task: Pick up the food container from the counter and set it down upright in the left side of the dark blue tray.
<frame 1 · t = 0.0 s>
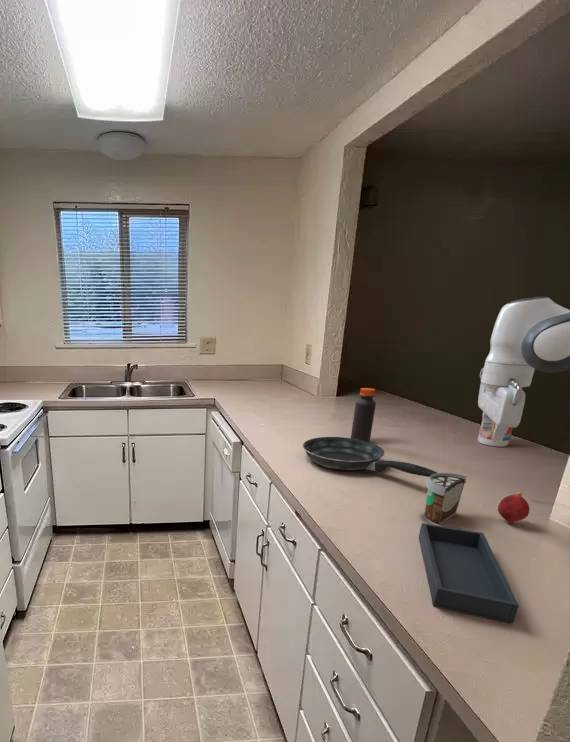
hand: (490, 436, 100), 21 cm above the countertop, tool pointing down, fingers open, 8 cm apart
frying pan: (358, 468, 139), on the countertop
dark blue tray: (458, 574, 85), on the countertop
food container: (434, 514, 109), on the countertop
fruit juice: (492, 443, 161), on the countertop
bottle: (359, 441, 165), on the countertop
onion: (509, 523, 105), on the countertop
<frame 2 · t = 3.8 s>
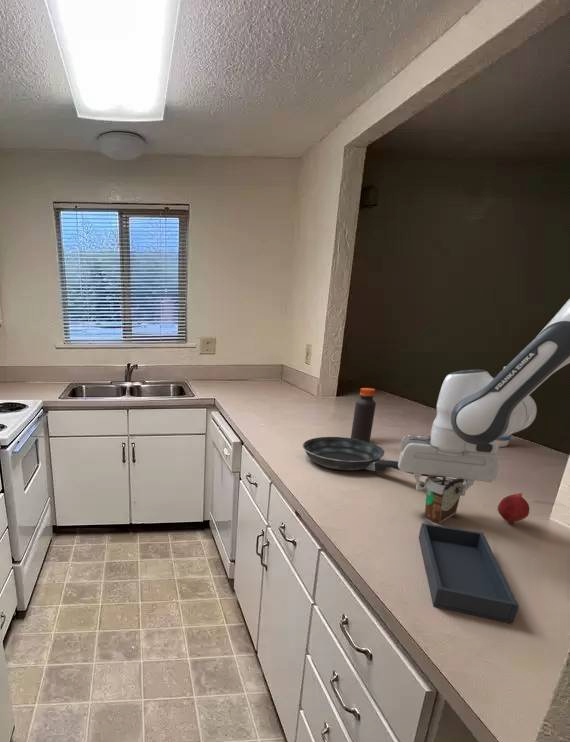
hand: (439, 492, 107), 6 cm above the countertop, tool pointing down, fingers closed on food container, 7 cm apart
food container: (434, 514, 109), on the countertop, touching gripper
everything else where it was.
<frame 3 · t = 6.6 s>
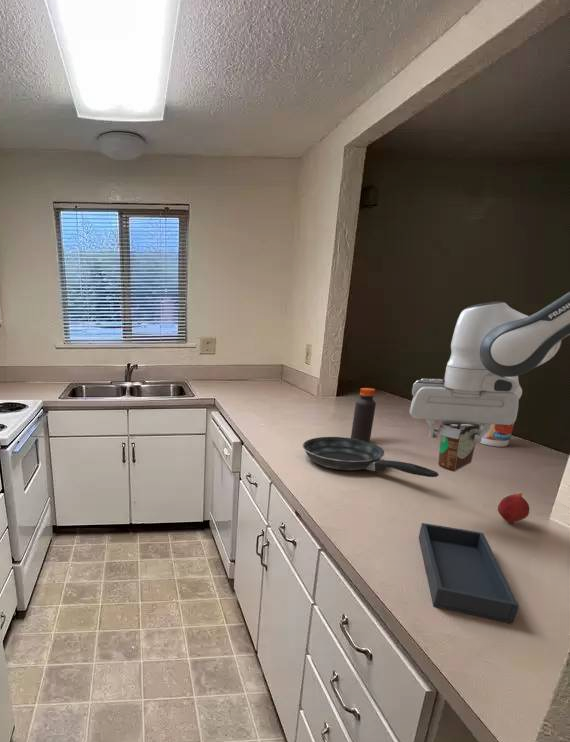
hand: (454, 439, 101), 20 cm above the countertop, tool pointing down, fingers closed on food container, 7 cm apart
food container: (448, 464, 103), point 14 cm above the countertop, touching gripper
everything else where it was.
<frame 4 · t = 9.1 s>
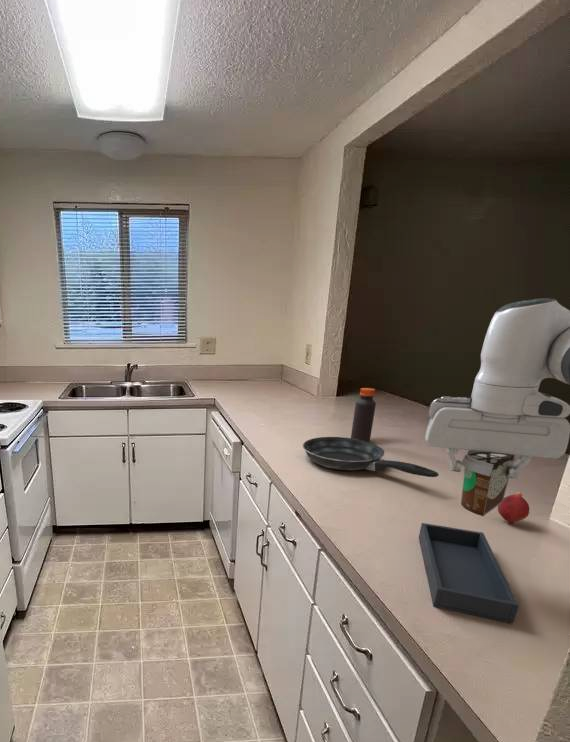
hand: (482, 473, 79), 21 cm above the countertop, tool pointing down, fingers closed on food container, 7 cm apart
food container: (473, 504, 82), point 15 cm above the countertop, touching gripper
everything else where it was.
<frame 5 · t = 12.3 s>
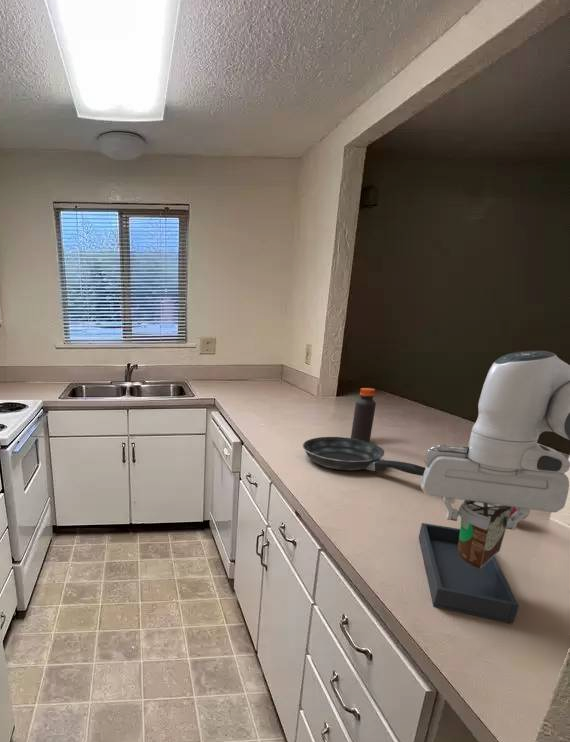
hand: (479, 523, 77), 13 cm above the countertop, tool pointing down, fingers closed on food container, 7 cm apart
food container: (470, 553, 80), point 7 cm above the countertop, touching gripper
everything else where it was.
when the fingers open (7 cm above the countertop, at t = 14.7 s): food container stays where it is, resting on dark blue tray.
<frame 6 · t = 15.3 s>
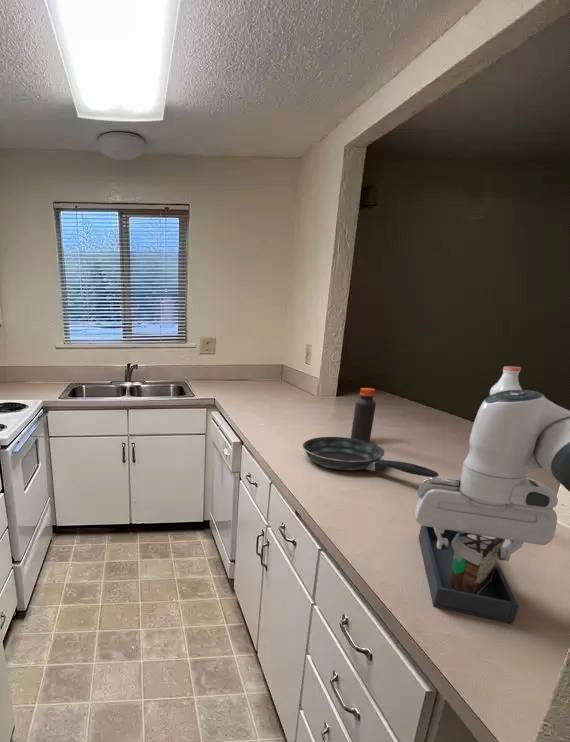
hand: (471, 553, 80), 7 cm above the countertop, tool pointing down, fingers open, 8 cm apart
food container: (462, 583, 82), resting on dark blue tray
everything else where it was.
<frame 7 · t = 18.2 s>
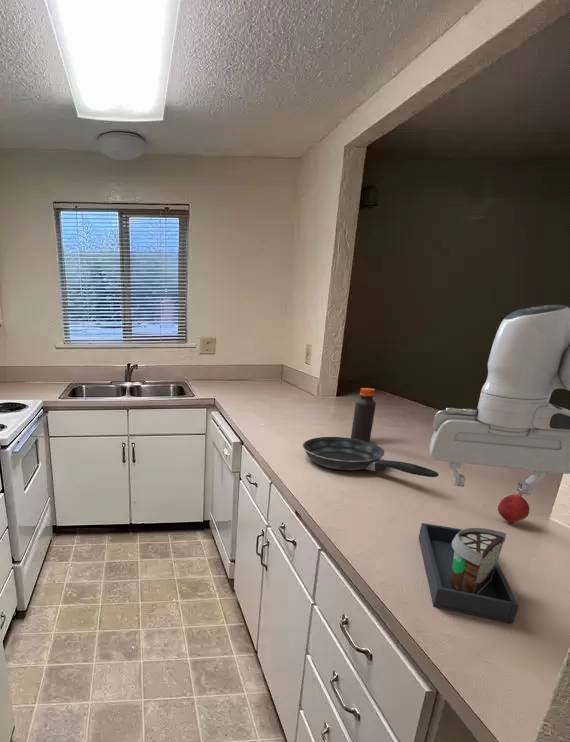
hand: (489, 489, 75), 20 cm above the countertop, tool pointing down, fingers open, 8 cm apart
nothing on the countertop moved.
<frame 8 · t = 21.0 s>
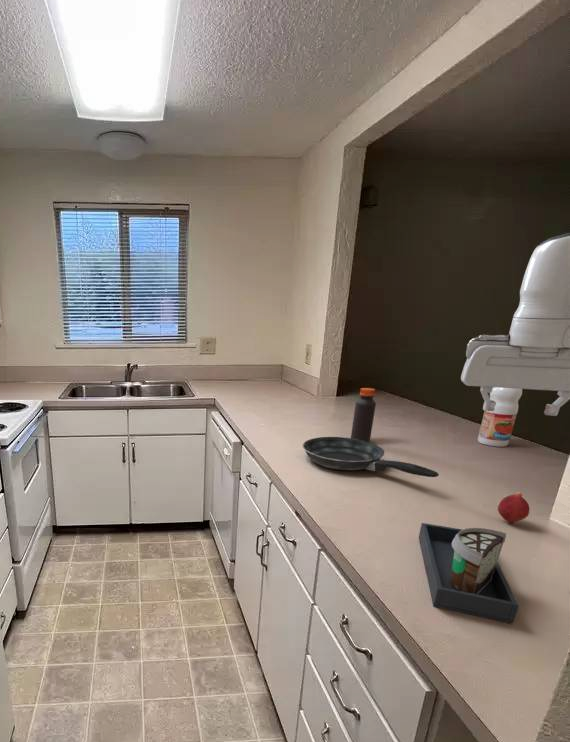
hand: (518, 412, 80), 31 cm above the countertop, tool pointing down, fingers open, 8 cm apart
nothing on the countertop moved.
at the end: food container inside the target area in the dark blue tray (1.2 cm from its centre), point 0.4 cm above the dark blue tray's base; food container tilted 0°; the gripper is holding nothing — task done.
